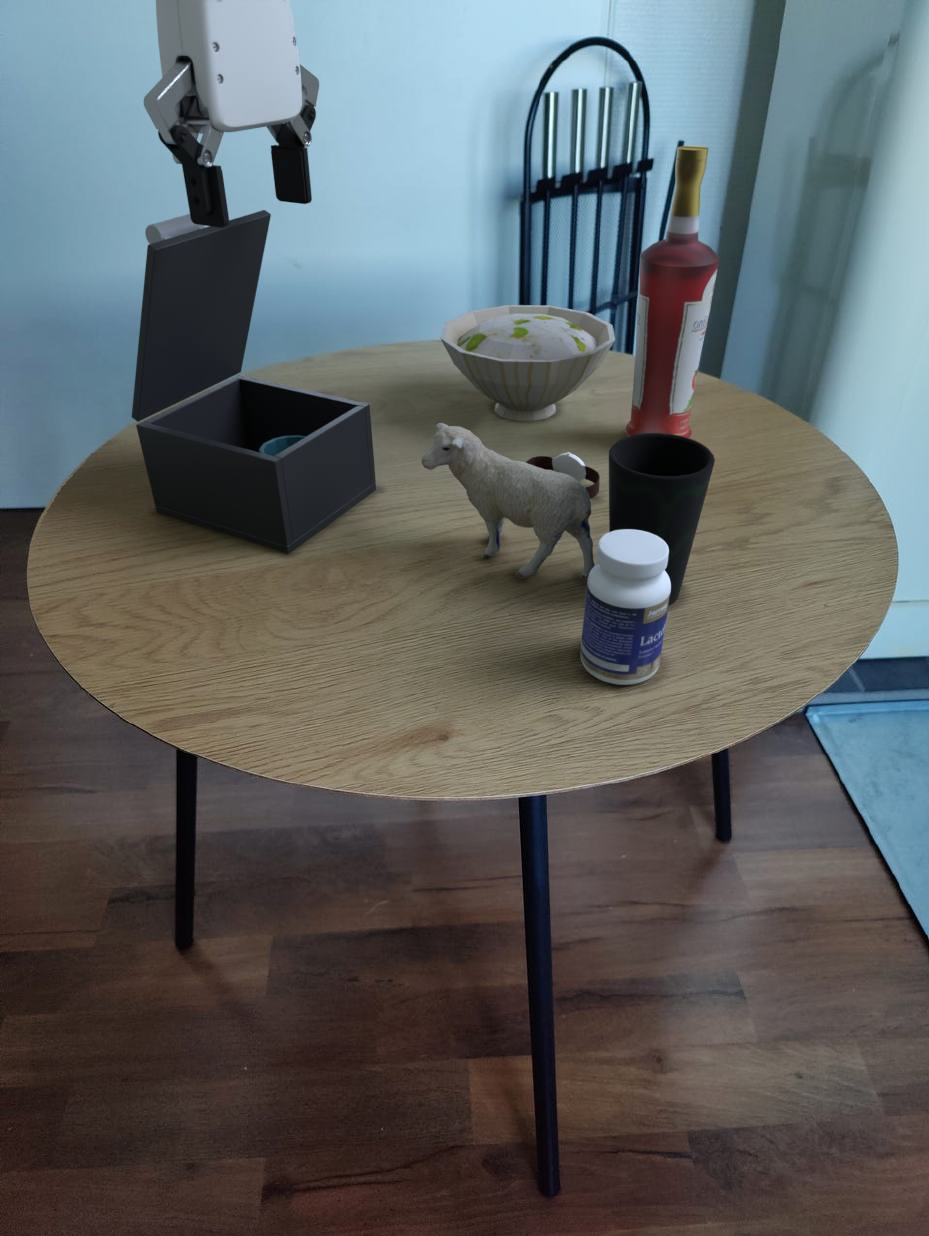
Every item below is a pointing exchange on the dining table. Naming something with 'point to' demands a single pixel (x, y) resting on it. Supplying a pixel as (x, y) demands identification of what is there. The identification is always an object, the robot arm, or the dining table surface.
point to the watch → (569, 469)
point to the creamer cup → (279, 444)
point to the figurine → (515, 495)
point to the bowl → (527, 354)
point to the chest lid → (195, 307)
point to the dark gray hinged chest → (259, 461)
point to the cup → (660, 492)
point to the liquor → (673, 309)
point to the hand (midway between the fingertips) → (254, 212)
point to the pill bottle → (626, 607)
